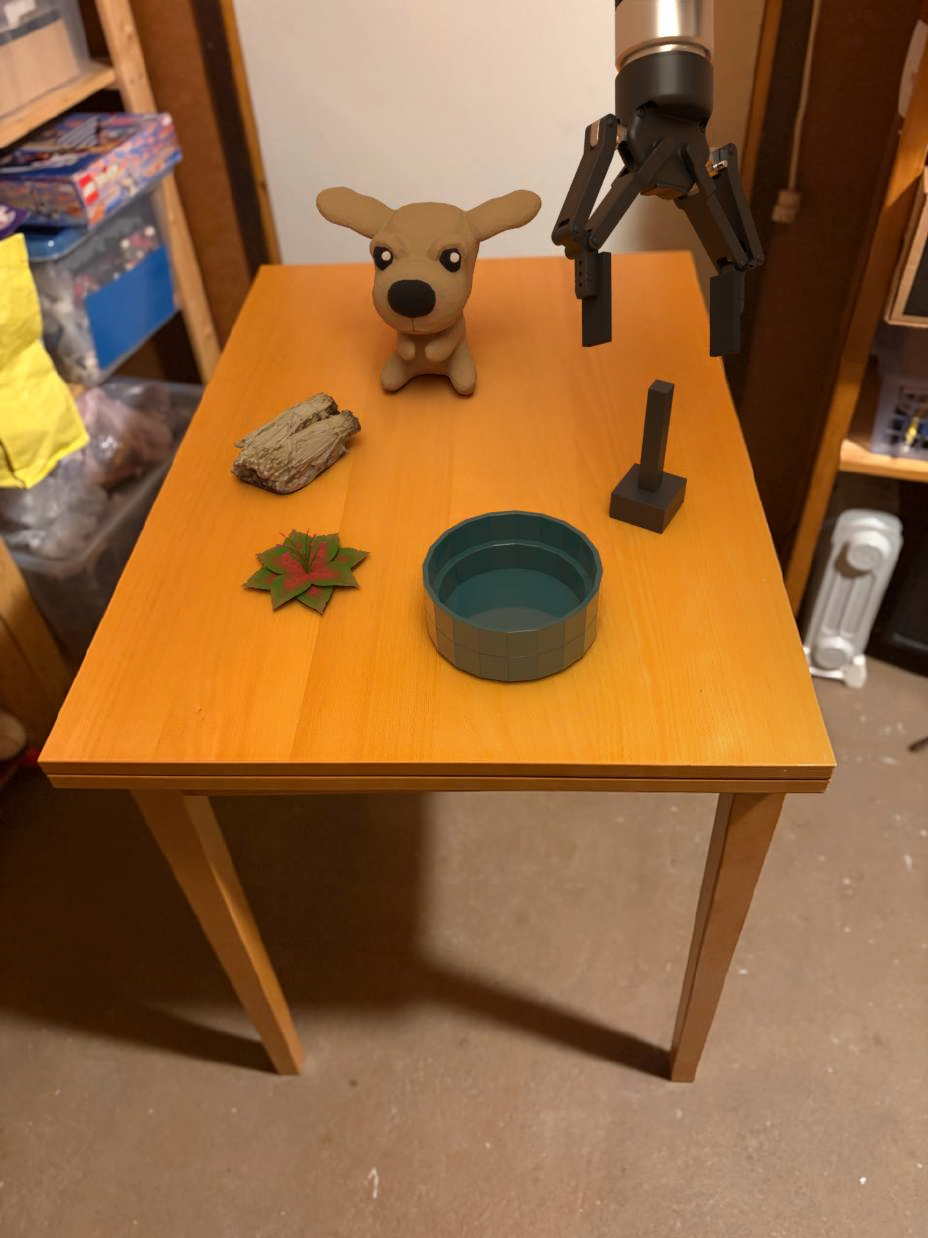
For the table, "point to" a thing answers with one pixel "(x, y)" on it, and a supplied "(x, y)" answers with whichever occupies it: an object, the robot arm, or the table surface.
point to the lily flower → (306, 569)
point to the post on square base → (651, 471)
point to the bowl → (512, 594)
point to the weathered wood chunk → (295, 445)
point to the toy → (426, 273)
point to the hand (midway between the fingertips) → (663, 350)
